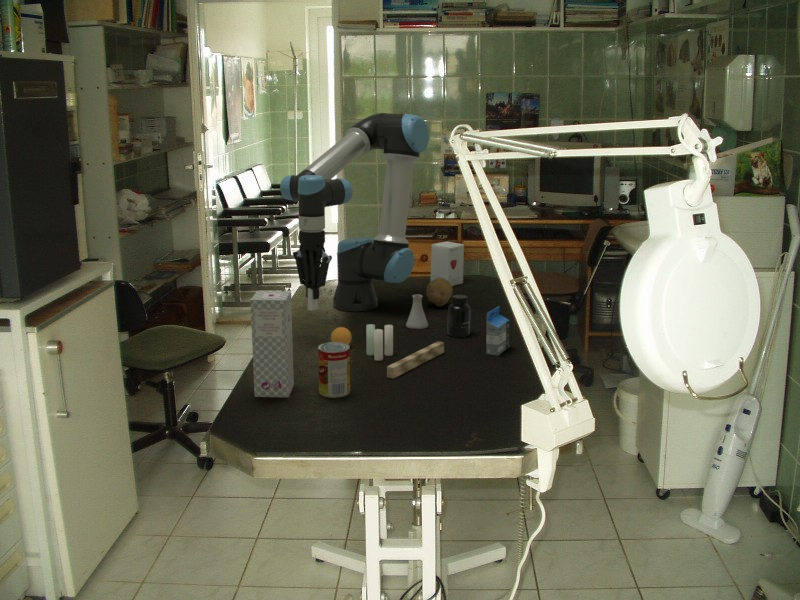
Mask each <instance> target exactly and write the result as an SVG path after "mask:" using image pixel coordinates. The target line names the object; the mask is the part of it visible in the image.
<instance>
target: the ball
mask: <svg viewBox="0 0 800 600" xmlns="http://www.w3.org/2000/svg"><path fill="white" fill-rule="evenodd" d="M330 342H342V343H346V344H348V345H349V346H350V343H351V342H352V333H351V331H350V330H349V329H348V328H346V327H343V326H339V327H336V328H335V329H334V330H333V331H332V332H331V334H330Z"/></svg>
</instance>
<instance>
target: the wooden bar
mask: <svg viewBox="0 0 800 600" xmlns="http://www.w3.org/2000/svg"><path fill="white" fill-rule="evenodd" d="M444 353H445V342H443V341H440V340H438V341H435V342H433V343H432V344H430V345H428V346H426V347H424V348H422V349H419V350H417V351H415V352H414V353H412V354H409V355H407V356H406V357H404V358H402V359H399V360H398V361H395V362H394V363H391V364H389V365H388V366H386V378H389V379H392V380H393V379H396V378H397V377H400V376H401V375H404V374H405V373H407V372H409V371H411V370H412V369H413V370H414V369H416V368H417V367H419V366H421V365H422V364H424V363H427V362H428V361H430V360H432V359H434V358H436V357H439V356H440V355H442V354H444Z"/></svg>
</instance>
